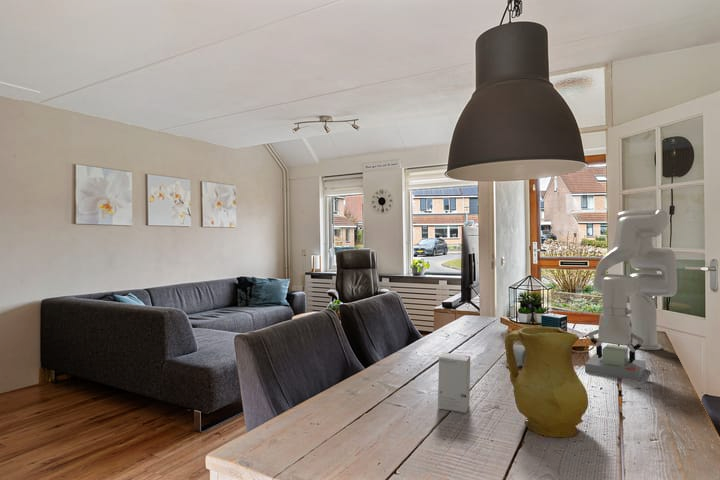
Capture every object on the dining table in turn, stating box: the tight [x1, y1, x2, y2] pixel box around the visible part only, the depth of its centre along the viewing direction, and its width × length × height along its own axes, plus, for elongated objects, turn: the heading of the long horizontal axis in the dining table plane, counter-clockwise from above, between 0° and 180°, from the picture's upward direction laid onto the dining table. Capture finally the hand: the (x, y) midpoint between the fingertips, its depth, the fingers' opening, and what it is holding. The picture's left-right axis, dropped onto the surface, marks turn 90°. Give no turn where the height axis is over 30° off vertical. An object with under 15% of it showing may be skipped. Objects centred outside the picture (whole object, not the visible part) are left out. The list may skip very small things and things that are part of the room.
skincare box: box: [437, 352, 471, 414], centre depth 120 cm, size 8×6×15 cm
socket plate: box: [584, 352, 647, 382], centre depth 149 cm, size 16×16×4 cm
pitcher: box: [504, 325, 589, 438], centre depth 108 cm, size 17×19×25 cm
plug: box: [602, 343, 629, 367], centre depth 149 cm, size 8×7×8 cm
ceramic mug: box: [505, 344, 526, 369], centre depth 156 cm, size 11×8×8 cm
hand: (615, 359), depth 149 cm, fingers open, 9 cm apart
